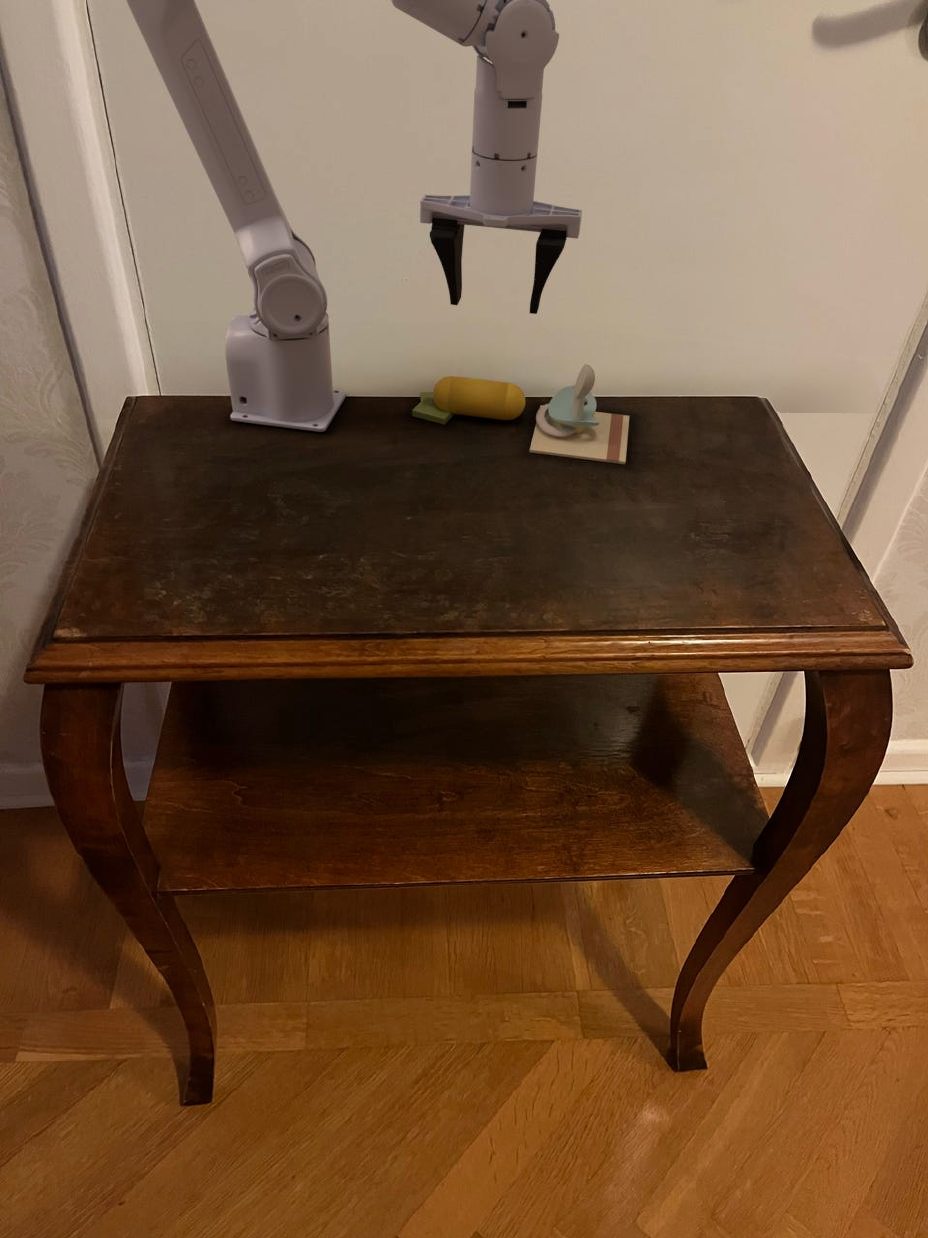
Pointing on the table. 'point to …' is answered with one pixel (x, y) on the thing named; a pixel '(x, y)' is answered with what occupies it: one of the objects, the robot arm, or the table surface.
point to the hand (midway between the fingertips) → (494, 305)
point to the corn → (470, 400)
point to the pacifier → (571, 407)
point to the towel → (587, 440)
